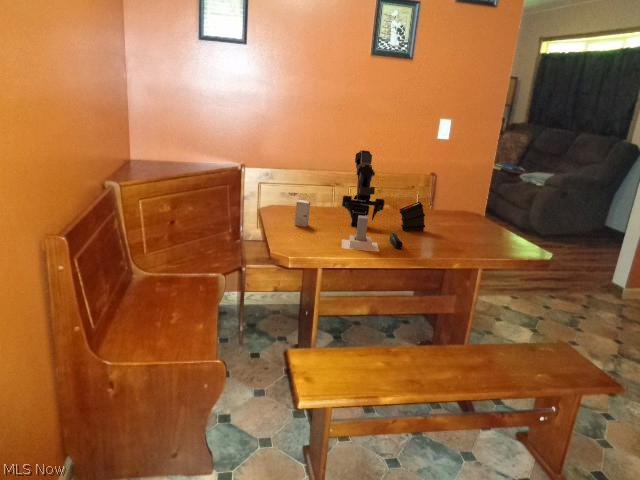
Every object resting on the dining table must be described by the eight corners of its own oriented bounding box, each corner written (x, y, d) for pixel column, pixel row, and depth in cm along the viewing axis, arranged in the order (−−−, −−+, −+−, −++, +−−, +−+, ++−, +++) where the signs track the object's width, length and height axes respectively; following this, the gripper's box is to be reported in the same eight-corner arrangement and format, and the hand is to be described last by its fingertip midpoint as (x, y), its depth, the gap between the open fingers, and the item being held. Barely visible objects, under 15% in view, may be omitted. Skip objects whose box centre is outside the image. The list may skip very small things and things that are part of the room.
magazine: (430, 229, 234) (422, 202, 229) (405, 238, 235) (397, 212, 230) (428, 227, 238) (419, 201, 233) (404, 236, 238) (395, 210, 233)
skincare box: (294, 225, 228) (295, 201, 224) (297, 223, 232) (298, 199, 228) (305, 227, 226) (307, 203, 222) (308, 224, 230) (310, 201, 226)
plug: (355, 246, 202) (358, 217, 197) (355, 243, 205) (358, 215, 201) (364, 247, 201) (368, 218, 197) (364, 244, 205) (367, 216, 201)
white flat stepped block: (341, 250, 198) (342, 241, 197) (341, 241, 210) (342, 233, 208) (378, 253, 198) (379, 245, 197) (376, 244, 209) (377, 236, 208)
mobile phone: (403, 242, 201) (394, 230, 215) (397, 241, 201) (388, 230, 215) (402, 252, 203) (392, 240, 217) (395, 252, 203) (386, 240, 217)
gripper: (344, 177, 205) (342, 207, 198) (386, 181, 204) (385, 211, 197) (343, 191, 215) (340, 220, 208) (383, 195, 214) (382, 224, 207)
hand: (362, 219), depth 205 cm, fingers open, 9 cm apart
